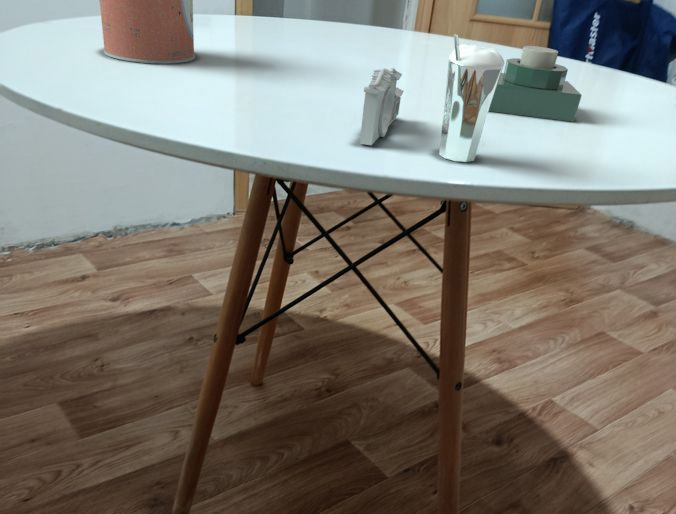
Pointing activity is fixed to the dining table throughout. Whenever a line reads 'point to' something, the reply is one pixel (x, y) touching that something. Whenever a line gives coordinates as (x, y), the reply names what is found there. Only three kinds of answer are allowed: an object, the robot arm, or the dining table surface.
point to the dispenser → (535, 92)
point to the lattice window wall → (380, 105)
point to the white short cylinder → (538, 57)
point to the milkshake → (468, 99)
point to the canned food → (148, 30)
